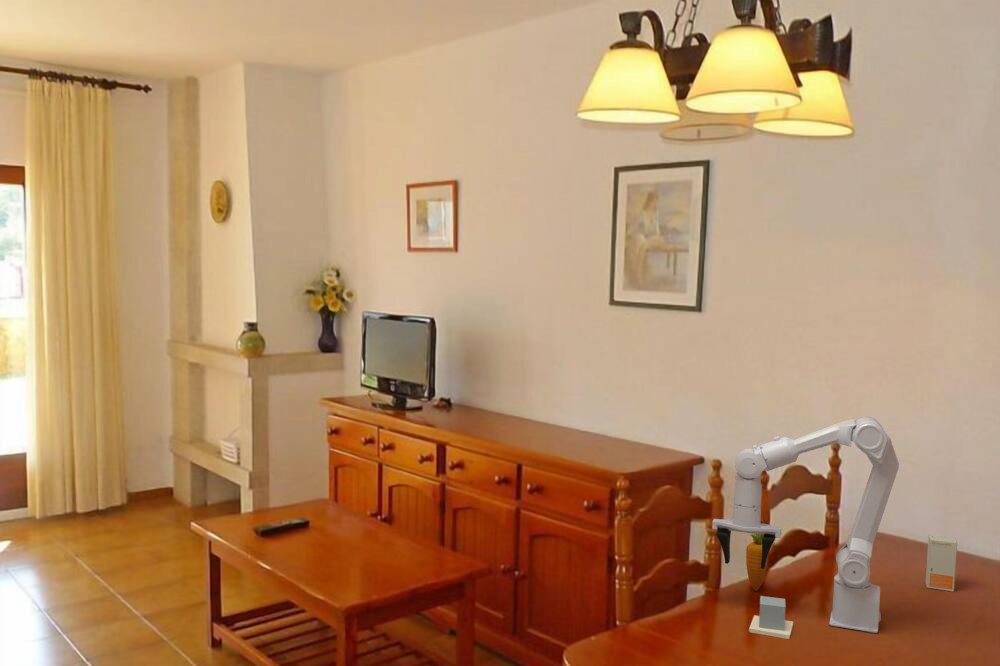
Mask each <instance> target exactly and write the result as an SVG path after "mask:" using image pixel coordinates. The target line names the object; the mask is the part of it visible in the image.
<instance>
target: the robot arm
mask: <svg viewBox="0 0 1000 666" xmlns="http://www.w3.org/2000/svg"><path fill="white" fill-rule="evenodd" d="M852 442H853V443H854V444H855V446H856V447H857V448H858V449H859V450H860V451H861V452H862V453H863V454H865V455H866V456H867V458H868V459H869V461H870V462H871V465H872V468H871V471H870V473H869V476H868V479H867V483H866V485H865V489H864V492H863V495H862V498H861V501H860V504H859V507H858V509H857V512H856V515H855V519H854V522H853V525H852V528H851V531H850V533H849V534H848V537H847V538H846V542H845V544H844V545H843V546H842V547H841V548H840V549H839V550H838V551H837V553H836V556H835V557H836V558H835V560H836V564H837V567H838V569H837V574H836V575H835V576H834V577H833V579H834V580H833V593H832V594H833V597H832V599H833V600H832V610H831V611H830V616H829V617H830V619H829V625H830V626H831V627H838V628H845V629H850V630H854V631H855V630H856V631H862V632H868V633H875V634H877V633H879V623H880V622H881V617H882V616H881V615H882V614H881V612H880V602H881V601H880V600H881V599H880V598H881V586H880V585H876V584H874V583H871V579H870V577H871V573H872V572H871V568H870V562H871V558H872V554H873V546H874V542H875V540H876V536H877V534H878V531H879V528H880V524H881V521H882V519H883V515H884V513H885V510H886V506H887V504H888V500H889V498H890V495H891V492H892V489H893V486H894V483H895V480H896V477H897V473H898V471H899V465H900V463H899V460H898V458H897V454H896V451H895V449H894V445H893V442H892V439H891V437H890V436H889V434H888V433H887V431H886V429H885V428H884V427H883V425H882V424H881V423H880V422H879V421H878V420H877V419H876V418H875V417H872V416H870V415H862V416H858V417H857V418H855V419H854V418H852V419H847V420H843V421H840V422H837V423H835V424H831V425H828V426H827V427H825V428H821V429H819V430H816V431H813V432H811V433H808V434H806V435H803V436H800V437H798V438H795V439H792V438H789V437H787V436H783V437H781V436H780V435H778V436H774V437H773V440H772V441H769V442H766V443H763V444H760V445H758V444H753V445H752V448H745V449H742V450H741V451H740V452H738V454H737V456H736V459H735V461H734V467H735V471H736V472H735V483H734V493H733V495H734V498H733V518H732V519H721V518H713V520H712V525H711V526H712V530H716V537H717V539H718V541H719V544H720V546H721V549H722V552H723V556H724V564H727V565H729V563H730V561H731V560H730V559H731V549H730V548H731V547H730V546H731V535H732V532H737V533H744V534H745V533H746V534H751V533H752V534H754V535H755V534H759V536H760V535H763V538H762V541H761V543H762V559H761V569H764V568H765V564H766V559H767V556H768V557H769V554H770V553H769V552H770V550H771V548H772V546H773V544H774V543H775V541H776V538H779V539H780V538H781V537H782V526H776V525H771V524H766V523H763V522H762V523H761V517H762V516H761V515H762V513H761V512H762V511H761V510H762V490H763V488H762V487H763V485H762V482H761V480H762V477H761V476H762V473H763V471H766V472H769V471H770V472H771V471H772V470H775V469H778V468H781V467H783V466H784V467H785V466H788V465H790V464H792V463H796V462H797V459H798V457H799V455H801V454H804V453H807V452H811V451H814V450H818V449H820V448H824V447H828V446H831V445H834V444H839V445H842V446H846V447H850V448H851V447H852Z"/></svg>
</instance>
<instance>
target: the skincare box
mask: <svg viewBox="0 0 1000 666" xmlns="http://www.w3.org/2000/svg"><path fill="white" fill-rule="evenodd" d="M927 537H928V539H927V540H928V541H927V543H928V544H927V554H926V570H925V585H926V588H927V589H935V590H941V591H947V592H951V593H953V592H955V580H956V567H957V553H958V551H957V550H958V542H957V538H955V537H954V538H953V537H946V536H938V535H937V536H936V535H928V536H927Z"/></svg>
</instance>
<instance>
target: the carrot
mask: <svg viewBox="0 0 1000 666" xmlns="http://www.w3.org/2000/svg"><path fill="white" fill-rule="evenodd" d="M749 535H750V537H752V539H753V541H752V542H750V543H748V544H747V546H746V549H745V551H746V552H745V553H746V554H745V555H746V556H745V559H746V560H745V561H746V563H745V564H746V570H747V576H748V577H747V578H748V581H749V584H750V585H751V588H752V590H753V591H754V592H757V591H759V589H760V588H761V586H762V584H763V582H764V580H765V578H766V577H765V576H766V573H767V569H768V561H769V555H768V556H767V559H766V564H765V568H764V569H761V559H762V538H763V536H764V535H760V534H752V533H749Z"/></svg>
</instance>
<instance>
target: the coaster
mask: <svg viewBox="0 0 1000 666" xmlns="http://www.w3.org/2000/svg"><path fill="white" fill-rule="evenodd" d="M759 617H760V615H755V614H754V615H753V617H752V620H751V623H750V626H749V628H748V632H749V633H750V634H751V633H752V634H758V635H763V636H768V637H770V636H771V637H774V638H775V637H776V638H781V639H786V640H790V638H791V636H792V635H791V634H792V632H793V628H794V621H793V620H786V619H785V628H784V631H781V630H773V629H766V628H759Z"/></svg>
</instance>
